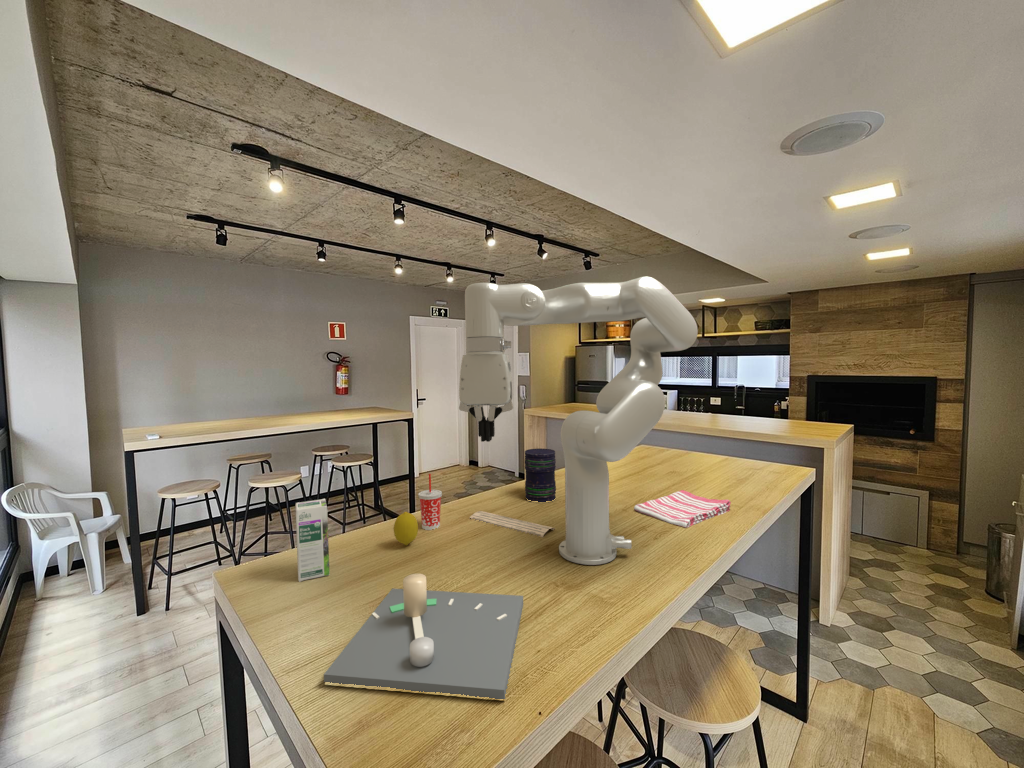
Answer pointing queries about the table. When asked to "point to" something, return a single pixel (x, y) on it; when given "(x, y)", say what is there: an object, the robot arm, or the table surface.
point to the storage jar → (540, 475)
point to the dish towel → (683, 508)
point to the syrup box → (312, 539)
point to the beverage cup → (430, 507)
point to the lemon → (405, 528)
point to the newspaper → (511, 523)
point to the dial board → (436, 645)
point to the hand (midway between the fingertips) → (486, 440)
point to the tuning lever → (417, 618)
